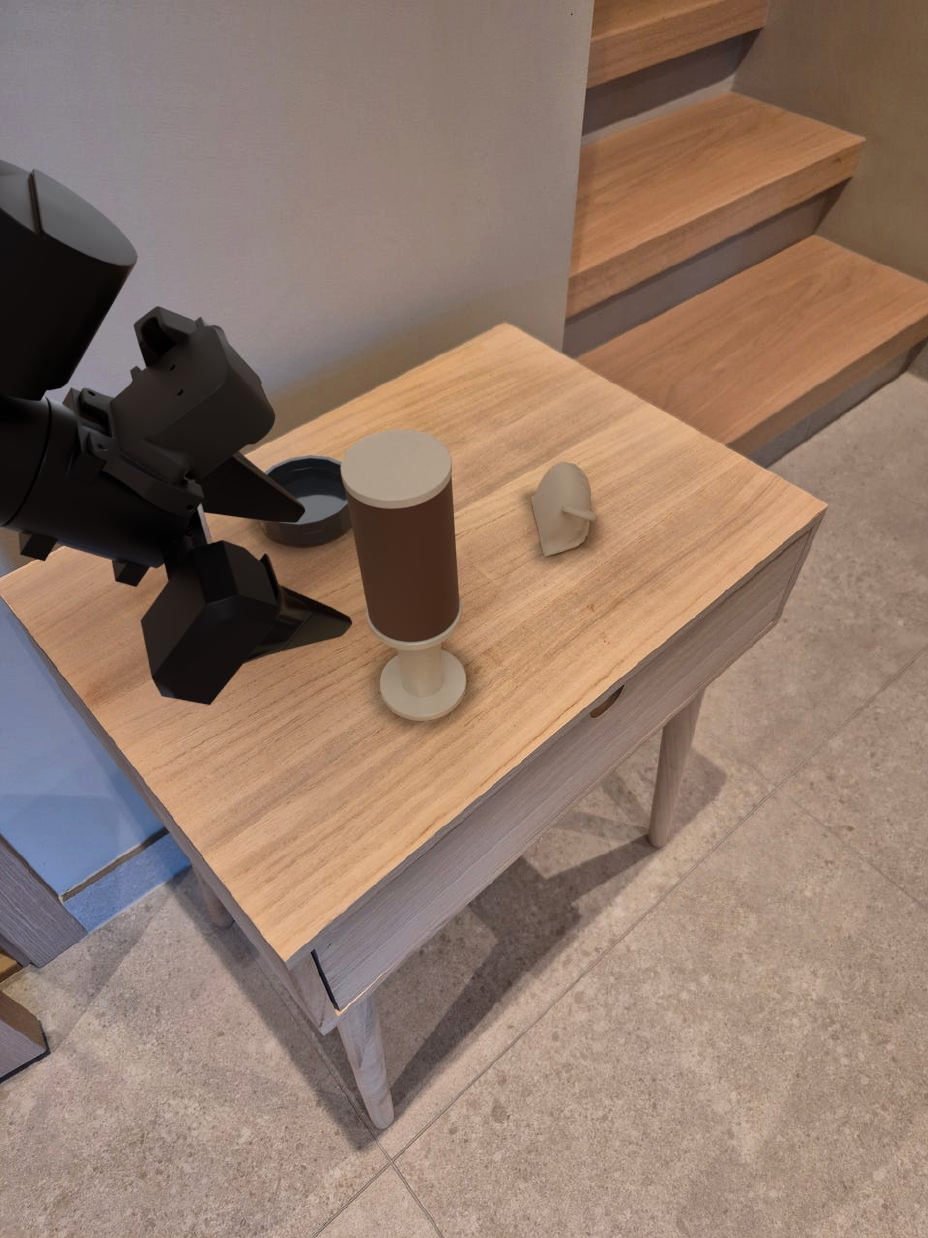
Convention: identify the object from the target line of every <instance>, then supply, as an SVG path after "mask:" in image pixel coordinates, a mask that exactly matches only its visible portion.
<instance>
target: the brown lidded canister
mask: <svg viewBox="0 0 928 1238" xmlns="http://www.w3.org/2000/svg"><path fill="white" fill-rule="evenodd" d="M452 460H453V459H452V455H451V453H450V450H449V449H448V447H447V446H446V445H445V444H444V442H443V441H441V440H440V439H438V438H437V437H436V436H435V435H432V434H429V433H428V432H424V431H421V430H416V429H409V428H408V429H406V428H398V429H397V428H396V429H387V430H383V431H378V432H375V433H372V434H369V435H367V436H364V437H363V438H361V439H359V440H358V441H356V442H355V443H354V444H352V445H351V447H349V448H348V449H347V450H346V452H345V453H344V456H343V457H342V460H341V462H342V463H341V476H342V481H343V484H344V487H345V492H346V497H347V503H348V508H349V513H350V519H351V524H352V527H351V529H352V534H353V540H354V545H355V551H356V555H357V560H358V566H359V572H360V576H361V582H362V587H363V593H364V597H365V603H366V606H367V609H368V614H369V618H370V620H371V623H372V624H373V626H374V627H375V628H376V629H377V630H378V631H379V632H380V633H382V634H383V635H385V636H387V637H389V638H391V639H394V640H397V641H403V642H419V641H424V640H428V639H431V638H434V637H436V636H438V635H440V634H441V633H443V632H444V631H446V630H447V629H448V628H449V627H450V626H451V625H452V624H453V622H454V621H455V619H456V617H457V615H458V612H459V595H460V590H459V589H460V588H459V574H458V573H459V572H458V561H457V560H458V559H457V558H458V557H457V539H456V525H455V523H456V522H455V508H454V493H453V492H454V491H453V475H452V473H453V461H452Z"/></svg>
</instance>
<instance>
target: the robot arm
mask: <svg viewBox="0 0 928 1238" xmlns="http://www.w3.org/2000/svg"><path fill="white" fill-rule="evenodd" d="M137 261H138V253H137V250H136V248H135V246H133V244H132V242H131V240H130V239H129V238H128V237H127V236H126V234H125V233H124V232H123V231H122V230H121V229H120V228H119V226H117V225H116V224H115V223H114V222H113V221H112V220H111V219H110V218H109V217H108V216H106V215H105V214H104V213H103V212H101V211H100V210H99V209H98V208H97V207H96V206H94V205H93V204H92V203H90V202H89V201H88V200H86V198H83V197H82V196H81V195H79V194H78V193H77V192H75V191H74V190H72V189H70V188H69V187H67V186H66V185H64V184H63V183H61V182H60V181H58V180H57V179H55V178H53V177H51V176H50V175H48V174H46V173H44V172H43V171H41V170H39V169H37V168H32V170H31V171H29V170H26V169H25V168H22V167H20V166H18V165H16V164H14V163H11V162H8V161H5V160H3V159H0V528H2V529H6V530H9V531H12V532H16V533H18V534H17V535H18V545H19V555H20V556H23V557H27V558H31V559H33V560H38V561H41V562H46V560H47V559H48V557H49V556H50V554H51V553H52V551H53V549H54V547H55V545H60V546H61V547H66V548H70V549H73V550H76V551H80V552H83V553H87V554H89V555H93V556H96V557H99V558H102V559H106V560H110V561H111V566H112V570H113V571H112V572H113V576H114V580H115V582H117V583H119V584H123V585H127V586H131V587H135V588H138V585H139V584H140V583H141V581H142V580H143V578H144V577H145V576H146V575H147V573H148V571H149V570H150V568H153V569H159V568H161V567H162V566H164V568H165V572H166V576H167V582H166V584H165V585H164V586H163V588H162V589H161V591H160V592H159V594H158V595H157V597H156V598H155V600H154V601H153V602H152V604H151V605H150V606H149V608H148V609H147V610H146V612H145V614H144V615H143V616H142V618H141V619H140V625H141V631H142V636H143V640H144V645H145V650H146V655H147V656H146V657H147V662H148V666H149V671H150V677H151V679H152V681H153V683H154V685H155V686H156V689H157V690H158V693H159V694H160V696H161V697H164V698H169V699H174V700H178V701H179V700H180V701H183V702H188V703H189V702H190V703H195V704H200V705H206V706H211V705H212V703H213V702H214V701H215V700H216V699H217V697H218V696H219V695H220V694H221V692H222V691H223V690H224V688H226V686H227V685H228V683H230V681H231V680H232V679H233V678H234V676H235V675H236V674H237V673H238V672H239V670H240V669H241V667H242V666H243V665H245V664H247V663H251V662H253V661H256V660H258V659H262V658H264V657H267V656H271V655H274V654H278V653H281V652H285V651H290V650H294V649H297V648H301V647H305V646H309V645H314V644H317V643H323V642H326V641H330V640H333V639H337V638H340V637H343V636H344V635H345V634H346V633H347V632H348V631H349V629H351V627H352V625H353V620H352V619H351V617H350V616H349V615H346V614H345V613H343V612H341V611H340V610H337V609H336V608H334V607H332V606H330V605H327V604H325V603H323V602H320V601H318V600H316V599H314V598H311V597H309V596H306V595H304V594H302V593H300V592H297V591H295V590H293V589H291V588H288V587H286V586H284V585H281V584H280V583H279V580H278V578H277V575H276V572H275V570H274V566H273V563H272V561H271V558H270V555H269V554H268V553H266V552H265V553H264V554H263V555H262V556H261V558H260V559H258V558H257V557H256V556H254V554H252V553H251V552H250V551H249V550H248V549H247V548H246V547H244V546H241V545H239V544H235V543H233V542H230V541H226V540H224V539H220V540H217V541H214V542H213V538H212V534H211V531H210V527H209V524H208V521H207V518H206V514H211V515H220V516H227V517H233V518H241V519H247V520H255V521H258V520H262V521H270V522H286V523H296V522H298V521H299V520H300V518H301V517H302V516H303V514H304V513H305V508H304V505H303V504H302V503H300V502H299V501H298V500H297V499H295V498H294V497H293V496H292V495H291V494H289V493H288V492H287V491H286V490H285V489H283V488H282V487H281V486H280V485H278V484H277V483H276V482H275V481H274V480H272V479H271V478H270V477H269V476H268V475H266V474H265V471H264V470H262V469H261V468H259V467H258V466H257V465H255V464H254V463H253V462H252V461H251V460H249V458H247V456H245V455H244V454H243V453H242V452H241V450H242V449H244V448H245V447H246V446H248V445H249V446H250V445H251V446H253V445H256V444H257V443H259V442H260V441H262V440H263V439H264V438H265V437H266V436H268V434H269V433H270V431H271V430H272V429H273V427H274V425H275V423H276V413H275V409H274V407H273V406H272V404H271V402H270V401H269V400H268V396H267V395H266V392H265V390H264V387H263V385H262V380H261V378H260V376H259V375H258V373H256V372H255V370H254V369H253V368H252V367H251V366H250V364H248V363H247V362H246V360H245V359H244V358H243V357H242V356H241V355H240V354H239V353H238V352H237V351H236V349H235V348H234V347H233V346H232V345H231V344H230V343H229V340H228V338H227V336H226V333H225V331H224V329H223V328H222V327H221V326H220V325H218V324H217V325H216V324H209V323H208V322H207V321H206V319H204V318H203V317H202V316H199V317H197V319H195V320H193V319H192V318H190V317H187V316H185V315H182V314H179V313H177V312H175V311H172V310H170V309H167V308H164V307H162V306H160V305H157V306H155V307H153V308H152V309H150V310H149V311H148V312H147V313H145V314H144V315H142V317H139V319H138V320H136V321H135V322H134V323H133V329H134V333H135V337H136V340H137V344H138V347H139V350H140V353H141V356H142V359H143V362H144V365H145V368H143V369H141V368H140V367H139V366H138V365H135V366H134V367H132V368H131V369H130V370H129V372H130V377H131V380H132V381H131V382H130V383H129V385H127V386H126V387H124V388H123V390H121V391H120V392H119V393H118V394H116V396H115V397H114V396H110V395H106V394H104V393H101V392H99V391H96V390H95V389H92V388H89V387H82V388H81V389H80V390H79V389H76V388H75V387H72V386H71V387H70V389H69V390H68V392H67V394H66V396H65V397H64V399H63V400H62V402H60V401H57V400H55V399H52V398H50V397H47V396H45V394H46V393H47V391H55V390H59V389H62V388H64V387H65V386H66V385H68V384H69V382H70V381H71V378H72V377H73V376H74V373H75V371H76V370H77V368H78V366H79V365H80V363H81V361H82V359H83V357H84V356H85V354H86V352H87V350H88V349H89V347H90V346H91V343H92V341H93V340H94V339H95V336H96V335H97V333H98V331H99V329H100V328H101V326H102V324H103V323H104V321H105V319H106V317H107V315H108V314H109V312H110V310H111V308H112V306H113V305H114V303H115V301H116V300H117V298H118V296H119V294H120V292H121V290H122V289H123V287H124V285H125V284H126V281H127V280H128V278H129V276H130V275H131V273H132V271H133V270H134V267H135V266H136V264H137Z"/></svg>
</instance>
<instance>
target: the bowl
mask: <svg viewBox="0 0 928 1238" xmlns="http://www.w3.org/2000/svg"><path fill="white" fill-rule="evenodd" d="M341 463H342V461H340V460H338V459H335V458H333V457H330V456H323V455H312V454H308V455H302V456H297V457H296V456H295V457H290V458H288V459H286V460H285V459H284V460H283V461H280V462H279V463H276V464H273V465H272V466H270V467H269V468H268V469H267V470H266V471H264V473H265V474H266V475H268V476H269V477H270V478H271V479H272V480H274V481H275V482H276V483H277V484H278V485H280V486H281V487H282V488H283V489H285V490H286V491H287V492H288V493H289V494H291V495H292V496H293V497H294V498H295V499H297V500H298V501H299V502H300V503H302V504H303V505H304V508H305V513H304V514H303V516H302V517H301V518H300V520H299V521H298V522H296V523H286V522H270V521H262V520H257V522H258V524H259V526H260V528H261V530H262V532H263V534H265V535H266V537H268V538H269V539H270V540H272V541H274V542H276V543H278V544H280V545H283V546H287V547H291V548H310V547H318V546H321V545H325V544H329V543H330V542H333V541H336V540H338V538H340V537H342V536H344V535H345V534H346V533H347V532H348V531H350V530H351V529H352V524H351V519H350V513H349V508H348V503H347V497H346V492H345V487H344V484H343V481H342V476H341Z"/></svg>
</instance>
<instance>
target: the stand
mask: <svg viewBox="0 0 928 1238" xmlns="http://www.w3.org/2000/svg"><path fill="white" fill-rule="evenodd" d="M365 617H366V622H367V625H368V628H369V630H370V632H371V633H372V635H373V636H374V637H375V638H376V639H377V640H378V641H379V642H381V643H382V644H384V645H386V646H388V647H390V648H393V649H396V652H397V654H396V655H395V656H394V657H392V658H391V659H390V660H389V661H388V662H387V664H386V665H385V666H384V668H383V669H382V672H381V675H380V678H379V690H380V695H381V698H382V700H383V703H384V704H385V705H386V707H387V708H388V709H389V710H390V711H391V712H393V713H394V714H395V715H397V716H398V717H401V718H403V719H405V720H409V721H414V722H429V721H433V720H437V719H440V718H442V717H443V718H444V717H445V716H447V715H448V714H450V713H451V712H453V711H454V710H456V708H457V707H458V706H459V705H460V704H461V702H462V700H463V699H464V697H465V694H466V691H467V674H466V670H465V668H464V666H463V664H462V663H461V661H460V660H459V659H458V658H457V657H456V656H455V655H453V654H452V653H451V652H449V651H447V650H445V649H442V643H443V642H445V641H447V640H448V639H449V638H451V636H452V635H454V633H455V632H456V631H457V629H458V628H459V626H460V624H461V621H462V618H463V601H462V598H461V595H460V594H459V612H458V615H457V617H456V619H455V621H454V622H453V624H452V625H451V626H450V627H449V628H448V629H447V630H446V631H444V632H443V633H441V634H440V635H438V636H436V637H434V638H431V639H428V640H424V641H419V642H403V641H397V640H394V639H391V638H389V637H387V636H385V635H383V634H382V633H380V632H379V631H378V630H377V629H376V628H375V627H374V626H373V624H372V623H371V620H370V618H369V614H368V609H367V605H366V607H365Z"/></svg>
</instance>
